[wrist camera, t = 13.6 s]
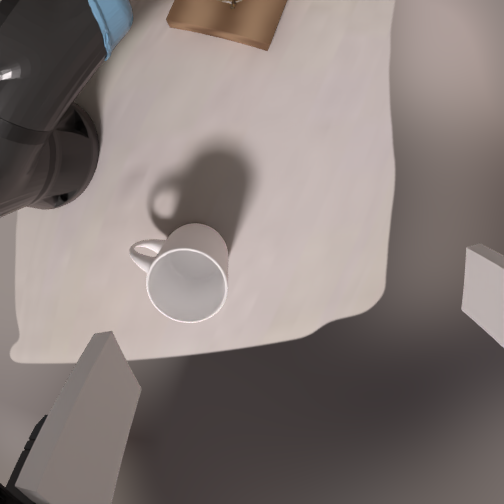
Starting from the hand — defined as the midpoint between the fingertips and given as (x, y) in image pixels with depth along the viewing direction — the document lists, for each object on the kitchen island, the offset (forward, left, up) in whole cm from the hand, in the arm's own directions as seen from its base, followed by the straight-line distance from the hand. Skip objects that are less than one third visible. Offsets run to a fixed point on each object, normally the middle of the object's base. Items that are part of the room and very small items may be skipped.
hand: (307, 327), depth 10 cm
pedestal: (-10, +24, -32) cm, 41 cm away
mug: (-6, -10, -32) cm, 34 cm away
